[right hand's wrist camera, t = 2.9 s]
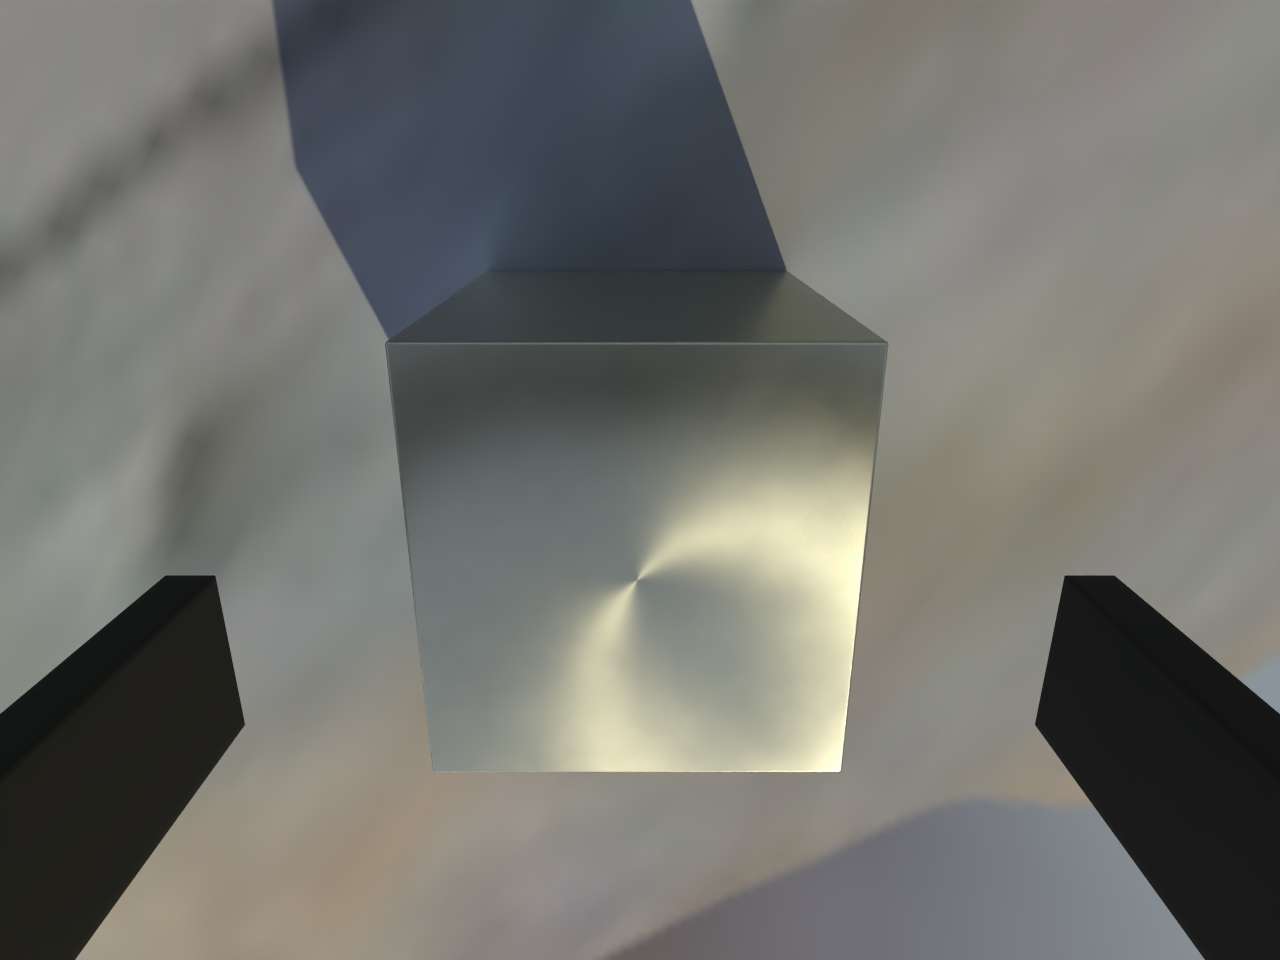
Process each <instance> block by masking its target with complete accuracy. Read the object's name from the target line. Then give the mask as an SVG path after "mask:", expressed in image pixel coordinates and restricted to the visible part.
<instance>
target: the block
mask: <svg viewBox="0 0 1280 960" xmlns="http://www.w3.org/2000/svg"><path fill="white" fill-rule="evenodd" d="M385 347H386V356H387V365H388V374H389V383H390V392H391V401H392V410H393V419H394V427H395V436H396V445H397V454H398V463H399V472H400V481H401V490H402V499H403V508H404V517H405V526H406V535H407V544H408V553H409V561H410V570H411V579H412V588H413V597H414V606H415V615H416V624H417V633H418V642H419V651H420V660H421V669H422V678H423V686H424V695H425V704H426V713H427V722H428V731H429V740H430V749H431V758H432V767H433V772H435V773H487V772H841V770H842V762H843V753H844V743H845V734H846V725H847V716H848V707H849V698H850V689H851V680H852V670H853V661H854V652H855V643H856V634H857V625H858V616H859V607H860V597H861V588H862V579H863V570H864V561H865V552H866V543H867V534H868V524H869V515H870V506H871V497H872V488H873V479H874V470H875V461H876V452H877V442H878V433H879V424H880V415H881V406H882V397H883V388H884V379H885V369H886V360H887V351H888V342H887V341H885V340H884V339H882V338H881V337H879V336H878V335H877V334H875V333H874V332H872V331H871V330H870V329H868V328H867V327H865V326H864V325H862V324H861V323H860V322H858V321H857V320H855V319H854V318H853V317H851V316H850V315H848V314H847V313H846V312H844V311H843V310H841V309H840V308H838V307H837V306H836V305H834V304H833V303H831V302H830V301H829V300H827V299H826V298H824V297H823V296H821V295H820V294H819V293H817V292H816V291H814V290H813V289H812V288H810V287H809V286H807V285H806V284H805V283H803V282H802V281H800V280H799V279H797V278H796V277H795V276H793V275H792V274H790V273H789V272H787V271H488V272H486V273H485V274H483V275H482V276H480V277H479V278H477V279H476V280H475V281H473V282H472V283H470V284H469V285H467V286H466V287H464V288H463V289H462V290H460V291H459V292H457V293H456V294H454V295H453V296H452V297H450V298H449V299H447V300H446V301H444V302H443V303H442V304H440V305H439V306H437V307H436V308H434V309H433V310H431V311H430V312H429V313H427V314H426V315H424V316H423V317H421V318H420V319H419V320H417V321H416V322H414V323H413V324H411V325H410V326H408V327H407V328H406V329H404V330H403V331H401V332H400V333H398V334H397V335H396V336H394V337H393V338H391V339H390V340H388V341H387V342H386V344H385Z"/></svg>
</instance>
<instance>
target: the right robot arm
mask: <svg viewBox="0 0 1280 960" xmlns="http://www.w3.org/2000/svg"><path fill="white" fill-rule="evenodd" d="M244 725H245V722H244V717H243V712H242V707H241V702H240V697H239V692H238V687H237V682H236V677H235V672H234V667H233V662H232V657H231V652H230V647H229V642H228V637H227V632H226V627H225V622H224V617H223V612H222V607H221V602H220V597H219V592H218V587H217V582H216V577H215V576H165V577H163V578H162V579H161V580H160V581H159V582H157V583H156V584H155V585H154V586H153V587H151V588H150V589H149V590H148V591H147V592H145V593H144V594H143V595H142V596H141V597H139V598H138V599H137V600H136V601H135V602H133V603H132V604H131V605H130V606H129V607H128V608H126V609H125V610H124V611H123V612H122V613H120V614H119V615H118V616H117V617H116V618H114V619H113V620H112V621H111V622H110V623H108V624H107V625H106V626H105V627H104V628H102V629H101V630H100V631H99V632H98V633H96V634H95V635H94V636H93V637H92V638H91V639H89V640H88V641H87V642H86V643H85V644H83V645H82V646H81V647H80V648H79V649H77V650H76V651H75V652H74V653H73V654H71V655H70V656H69V657H68V658H67V659H65V660H64V661H63V662H62V663H61V664H59V665H58V666H57V667H56V668H55V669H54V670H52V671H51V672H50V673H49V674H48V675H46V676H45V677H44V678H43V679H42V680H40V681H39V682H38V683H37V684H36V685H34V686H33V687H32V688H31V689H30V690H28V691H27V692H26V693H25V694H24V695H22V696H21V697H20V698H19V699H18V700H16V701H15V702H14V703H13V704H12V705H11V706H9V707H8V708H7V709H6V710H5V711H3V712H2V713H1V714H0V960H75V959H76V958H77V956H78V955H79V953H80V952H81V951H82V949H83V948H84V947H85V945H86V944H87V942H88V941H89V940H90V938H91V937H92V935H93V934H94V933H95V931H96V930H97V929H98V927H99V926H100V924H101V923H102V922H103V920H104V919H105V918H106V916H107V915H108V913H109V912H110V911H111V909H112V908H113V906H114V905H115V904H116V902H117V901H118V900H119V898H120V897H121V895H122V894H123V893H124V891H125V890H126V888H127V887H128V886H129V884H130V883H131V882H132V880H133V879H134V877H135V876H136V875H137V873H138V872H139V870H140V869H141V868H142V866H143V865H144V864H145V862H146V861H147V859H148V858H149V857H150V855H151V854H152V853H153V851H154V850H155V848H156V847H157V846H158V844H159V843H160V841H161V840H162V839H163V837H164V836H165V835H166V833H167V832H168V830H169V829H170V828H171V826H172V825H173V823H174V822H175V821H176V819H177V818H178V817H179V815H180V814H181V812H182V811H183V810H184V808H185V807H186V805H187V804H188V803H189V801H190V800H191V799H192V797H193V796H194V794H195V793H196V792H197V790H198V789H199V788H200V786H201V785H202V783H203V782H204V781H205V779H206V778H207V776H208V775H209V774H210V772H211V771H212V770H213V768H214V767H215V765H216V764H217V763H218V761H219V760H220V758H221V757H222V756H223V754H224V753H225V752H226V750H227V749H228V747H229V746H230V745H231V743H232V742H233V740H234V739H235V738H236V736H237V735H238V734H239V732H240V731H241V729H242V728H243V727H244ZM1035 725H1036V727H1037V728H1038V729H1039V731H1040V732H1041V734H1042V735H1043V736H1044V738H1045V739H1046V740H1047V742H1048V743H1049V745H1050V746H1051V747H1052V749H1053V750H1054V752H1055V753H1056V754H1057V756H1058V757H1059V758H1060V760H1061V761H1062V763H1063V764H1064V765H1065V767H1066V768H1067V770H1068V771H1069V772H1070V774H1071V775H1072V776H1073V778H1074V779H1075V781H1076V782H1077V783H1078V785H1079V786H1080V788H1081V789H1082V790H1083V792H1084V793H1085V794H1086V796H1087V797H1088V799H1089V800H1090V801H1091V803H1092V804H1093V805H1094V807H1095V808H1096V810H1097V811H1098V812H1099V814H1100V815H1101V817H1102V818H1103V819H1104V821H1105V822H1106V823H1107V825H1108V826H1109V828H1110V829H1111V830H1112V832H1113V833H1114V835H1115V836H1116V837H1117V839H1118V840H1119V841H1120V843H1121V844H1122V846H1123V847H1124V848H1125V850H1126V851H1127V852H1128V854H1129V855H1130V857H1131V858H1132V859H1133V861H1134V862H1135V864H1136V865H1137V866H1138V868H1139V869H1140V870H1141V872H1142V873H1143V875H1144V876H1145V877H1146V879H1147V880H1148V882H1149V883H1150V884H1151V886H1152V887H1153V888H1154V890H1155V891H1156V893H1157V894H1158V895H1159V897H1160V898H1161V899H1162V901H1163V902H1164V904H1165V905H1166V906H1167V908H1168V909H1169V911H1170V912H1171V913H1172V915H1173V916H1174V917H1175V919H1176V920H1177V922H1178V923H1179V924H1180V926H1181V927H1182V928H1183V930H1184V931H1185V933H1186V934H1187V935H1188V937H1189V938H1190V940H1191V941H1192V942H1193V944H1194V945H1195V947H1196V948H1197V949H1198V951H1199V952H1200V953H1201V955H1202V956H1203V958H1204V959H1205V960H1280V714H1279V713H1278V712H1277V711H1275V710H1274V709H1273V708H1272V707H1271V706H1269V705H1268V704H1267V703H1266V702H1265V701H1263V700H1262V699H1261V698H1260V697H1259V696H1258V695H1256V694H1255V693H1254V692H1253V691H1251V690H1250V689H1249V688H1248V687H1247V686H1246V685H1244V684H1243V683H1242V682H1241V681H1240V680H1238V679H1237V678H1236V677H1235V676H1234V675H1232V674H1231V673H1230V672H1229V671H1228V670H1226V669H1225V668H1224V667H1223V666H1222V665H1221V664H1219V663H1218V662H1217V661H1216V660H1215V659H1213V658H1212V657H1211V656H1210V655H1209V654H1207V653H1206V652H1205V651H1204V650H1203V649H1201V648H1200V647H1199V646H1198V645H1197V644H1195V643H1194V642H1193V641H1192V640H1191V639H1189V638H1188V637H1187V636H1186V635H1185V634H1184V633H1182V632H1181V631H1180V630H1179V629H1178V628H1176V627H1175V626H1174V625H1173V624H1172V623H1170V622H1169V621H1168V620H1167V619H1166V618H1164V617H1163V616H1162V615H1161V614H1160V613H1158V612H1157V611H1156V610H1155V609H1154V608H1152V607H1151V606H1150V605H1149V604H1148V603H1147V602H1145V601H1144V600H1143V599H1142V598H1141V597H1139V596H1138V595H1137V594H1136V593H1135V592H1133V591H1132V590H1131V589H1130V588H1129V587H1127V586H1126V585H1125V584H1124V583H1123V582H1121V581H1120V580H1119V579H1118V578H1117V577H1115V576H1065V577H1064V582H1063V587H1062V592H1061V597H1060V602H1059V607H1058V612H1057V617H1056V622H1055V627H1054V632H1053V637H1052V642H1051V647H1050V652H1049V657H1048V662H1047V667H1046V672H1045V677H1044V682H1043V687H1042V692H1041V697H1040V702H1039V707H1038V712H1037V717H1036V722H1035Z"/></svg>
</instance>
